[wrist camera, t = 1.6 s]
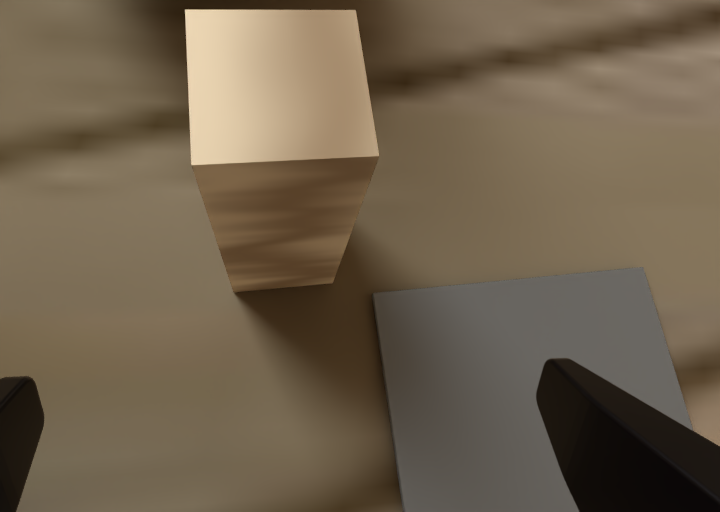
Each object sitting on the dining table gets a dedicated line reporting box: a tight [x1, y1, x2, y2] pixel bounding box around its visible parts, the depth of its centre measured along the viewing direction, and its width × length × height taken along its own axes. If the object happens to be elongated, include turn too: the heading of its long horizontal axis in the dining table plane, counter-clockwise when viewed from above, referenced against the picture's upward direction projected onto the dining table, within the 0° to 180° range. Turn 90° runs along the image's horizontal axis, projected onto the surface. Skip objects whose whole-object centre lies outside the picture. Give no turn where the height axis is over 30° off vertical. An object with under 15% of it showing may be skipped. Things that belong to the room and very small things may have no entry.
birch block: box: [185, 10, 379, 292], centre depth 19 cm, size 4×4×12 cm
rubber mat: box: [372, 267, 693, 512], centre depth 23 cm, size 14×18×1 cm
